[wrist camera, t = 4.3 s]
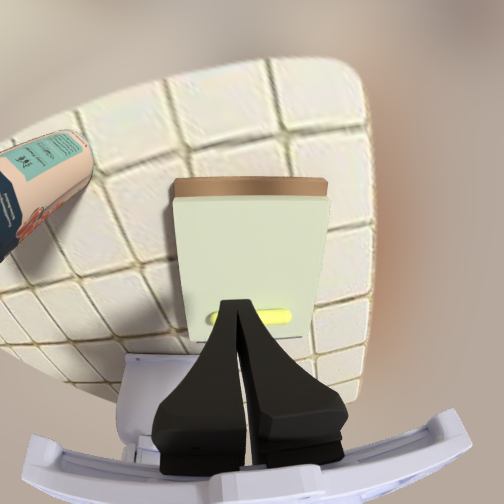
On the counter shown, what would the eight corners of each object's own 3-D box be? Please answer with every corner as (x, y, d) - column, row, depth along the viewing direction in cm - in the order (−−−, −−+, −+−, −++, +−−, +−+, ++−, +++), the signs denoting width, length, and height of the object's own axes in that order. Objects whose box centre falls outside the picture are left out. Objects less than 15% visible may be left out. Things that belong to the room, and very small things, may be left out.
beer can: (43, 190, 17) (-60, 281, 7) (43, 129, 15) (-84, 185, 5) (96, 194, 18) (-1, 302, 8) (98, 128, 16) (-28, 184, 5)
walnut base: (192, 332, 25) (191, 340, 24) (176, 178, 18) (173, 182, 17) (300, 326, 26) (303, 334, 25) (323, 178, 19) (328, 182, 18)
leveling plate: (191, 337, 24) (190, 356, 22) (174, 197, 18) (169, 209, 16) (304, 331, 25) (310, 349, 23) (326, 196, 19) (338, 208, 17)
